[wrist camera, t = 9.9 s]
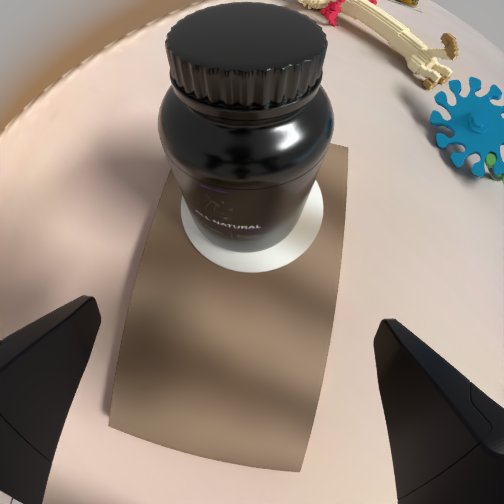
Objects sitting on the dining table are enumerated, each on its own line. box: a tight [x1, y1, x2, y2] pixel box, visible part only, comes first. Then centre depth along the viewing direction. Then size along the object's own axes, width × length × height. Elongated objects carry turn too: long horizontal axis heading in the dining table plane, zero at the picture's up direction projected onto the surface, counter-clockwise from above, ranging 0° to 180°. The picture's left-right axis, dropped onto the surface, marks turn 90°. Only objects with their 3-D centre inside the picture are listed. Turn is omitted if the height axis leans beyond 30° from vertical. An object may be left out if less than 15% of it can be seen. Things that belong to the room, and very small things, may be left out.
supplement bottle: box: [158, 2, 334, 253], centre depth 12 cm, size 7×7×12 cm
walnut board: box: [108, 143, 348, 472], centre depth 17 cm, size 22×12×1 cm, turn 169°
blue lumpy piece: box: [430, 77, 504, 183], centre depth 19 cm, size 11×6×10 cm
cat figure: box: [298, 0, 459, 90], centre depth 24 cm, size 10×9×25 cm
